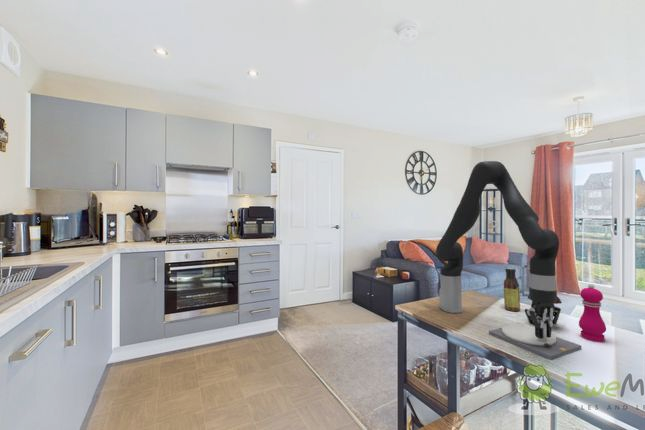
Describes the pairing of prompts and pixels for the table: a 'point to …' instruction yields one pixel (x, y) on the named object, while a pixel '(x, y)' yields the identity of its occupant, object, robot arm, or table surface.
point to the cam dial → (528, 335)
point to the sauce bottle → (511, 291)
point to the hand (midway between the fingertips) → (543, 337)
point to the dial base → (556, 351)
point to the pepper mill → (592, 315)
